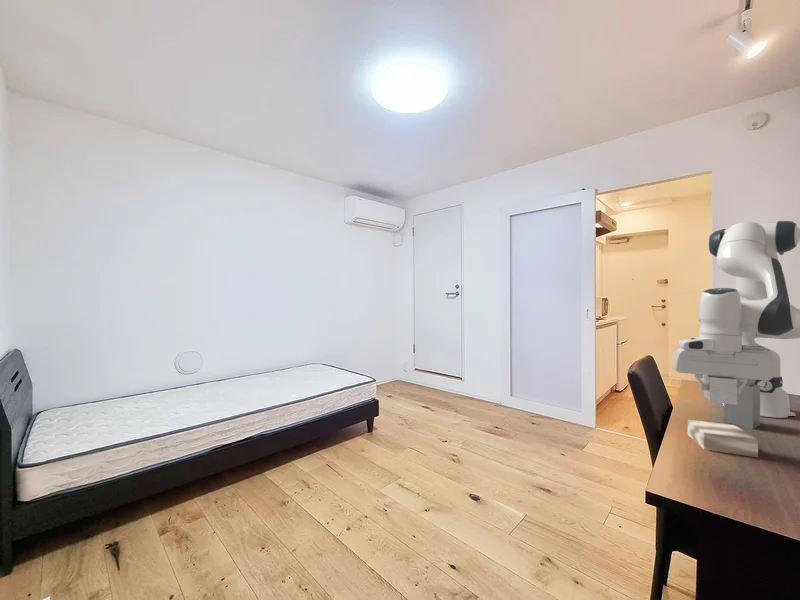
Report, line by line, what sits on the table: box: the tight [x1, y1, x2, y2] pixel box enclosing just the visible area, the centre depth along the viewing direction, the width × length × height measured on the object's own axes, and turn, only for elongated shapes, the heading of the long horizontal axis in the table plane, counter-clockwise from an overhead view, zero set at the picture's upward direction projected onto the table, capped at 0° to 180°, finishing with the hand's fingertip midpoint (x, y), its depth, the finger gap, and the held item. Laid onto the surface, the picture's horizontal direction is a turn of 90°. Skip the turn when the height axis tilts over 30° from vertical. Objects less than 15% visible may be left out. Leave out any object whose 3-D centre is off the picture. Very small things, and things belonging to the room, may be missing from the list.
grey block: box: [703, 375, 737, 405], centre depth 91 cm, size 6×6×7 cm
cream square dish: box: [686, 419, 759, 458], centre depth 91 cm, size 11×11×5 cm
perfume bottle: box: [723, 378, 761, 430], centre depth 107 cm, size 7×7×18 cm
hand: (719, 391), depth 91 cm, fingers closed on grey block, 5 cm apart
